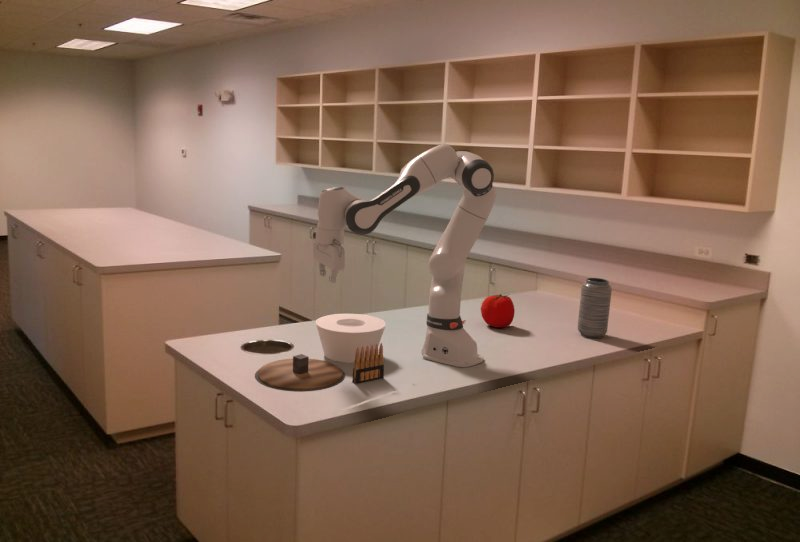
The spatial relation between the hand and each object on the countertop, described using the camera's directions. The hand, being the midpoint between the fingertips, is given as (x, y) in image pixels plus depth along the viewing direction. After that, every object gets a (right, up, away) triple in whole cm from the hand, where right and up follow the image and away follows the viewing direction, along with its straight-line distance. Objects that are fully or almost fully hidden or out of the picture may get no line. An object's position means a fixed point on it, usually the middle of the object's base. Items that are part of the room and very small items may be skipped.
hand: (327, 278), depth 223 cm
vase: (+101, -24, +54) cm, 117 cm away
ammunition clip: (+14, -32, -10) cm, 36 cm away
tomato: (+63, -20, +61) cm, 90 cm away
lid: (-8, -30, -9) cm, 32 cm away
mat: (-8, -31, -9) cm, 33 cm away
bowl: (+6, -27, +14) cm, 31 cm away
